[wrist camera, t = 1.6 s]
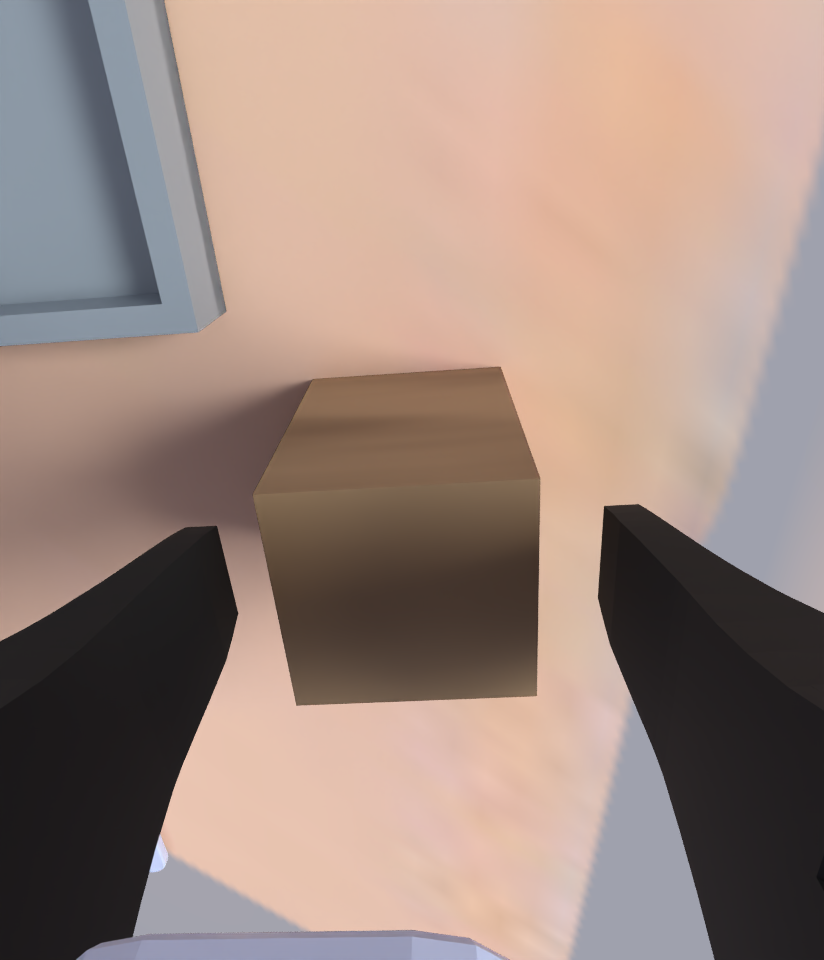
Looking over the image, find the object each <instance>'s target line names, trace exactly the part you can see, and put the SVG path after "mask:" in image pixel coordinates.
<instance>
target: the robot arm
mask: <svg viewBox="0 0 824 960" xmlns="http://www.w3.org/2000/svg"><path fill="white" fill-rule="evenodd" d="M598 600H599V604H600V608H601V612H602V616H603V620H604V624H605V628H606V631H607V635H608V638H609V642H610V645H611V648H612V650H613V653H614V655H615V658H616V660H617V663H618V665H619V668H620V670H621V672H622V675H623V677H624V680H625V682H626V685H627V687H628V689H629V692H630V694H631V696H632V699H633V701H634V704H635V706H636V708H637V711H638V713H639V716H640V718H641V720H642V723H643V725H644V727H645V730H646V732H647V734H648V737H649V739H650V742H651V744H652V746H653V749H654V752H655V754H656V757H657V759H658V762H659V765H660V768H661V771H662V773H663V776H664V780H665V783H666V786H667V790H668V793H669V796H670V800H671V803H672V806H673V809H674V813H675V816H676V819H677V823H678V826H679V829H680V833H681V836H682V840H683V844H684V847H685V851H686V854H687V858H688V861H689V865H690V868H691V872H692V876H693V879H694V883H695V887H696V890H697V894H698V898H699V901H700V905H701V909H702V913H703V917H704V920H705V924H706V928H707V932H708V936H709V940H710V944H711V947H712V951H713V955H714V959H715V960H824V613H823V612H821V611H818V610H816V609H814V608H812V607H810V606H808V605H806V604H804V603H802V602H799V601H797V600H795V599H793V598H791V597H789V596H787V595H785V594H783V593H781V592H779V591H777V590H775V589H774V588H771V587H770V586H768V585H766V584H764V583H763V582H761V581H759V580H757V579H756V578H754V577H752V576H750V575H749V574H747V573H745V572H743V571H742V570H740V569H738V568H736V567H735V566H733V565H731V564H730V563H728V562H727V561H725V560H723V559H722V558H720V557H718V556H717V555H715V554H714V553H712V552H711V551H709V550H707V549H706V548H704V547H703V546H701V545H700V544H698V543H697V542H695V541H694V540H692V539H691V538H689V537H688V536H686V535H685V534H683V533H682V532H680V531H679V530H677V529H676V528H674V527H673V526H671V525H670V524H668V523H667V522H666V521H664V520H663V519H661V518H660V517H658V516H657V515H655V514H654V513H652V512H650V511H649V510H647V509H646V508H644V507H642V506H640V505H639V504H635V505H616V506H604V516H603V530H602V545H601V560H600V575H599V590H598ZM237 616H238V611H237V607H236V602H235V598H234V594H233V590H232V586H231V582H230V578H229V574H228V570H227V566H226V562H225V557H224V553H223V549H222V545H221V541H220V537H219V533H218V529H217V526H206V527H187V528H184V529H182V530H180V531H178V532H176V533H174V534H173V535H171V536H170V537H168V538H166V539H165V540H163V541H162V542H160V543H159V544H157V545H156V546H154V547H153V548H151V549H150V550H148V551H147V552H145V553H144V554H142V555H141V556H139V557H138V558H136V559H135V560H133V561H132V562H131V563H129V564H128V565H126V566H125V567H123V568H122V569H120V570H119V571H117V572H116V573H114V574H113V575H111V576H110V577H108V578H107V579H105V580H104V581H102V582H101V583H99V584H98V585H96V586H95V587H93V588H91V589H90V590H88V591H87V592H85V593H83V594H82V595H80V596H79V597H77V598H75V599H74V600H72V601H71V602H69V603H67V604H66V605H64V606H63V607H61V608H59V609H58V610H56V611H55V612H53V613H51V614H50V615H48V616H46V617H44V618H43V619H41V620H39V621H38V622H36V623H34V624H32V625H30V626H29V627H27V628H25V629H23V630H21V631H19V632H17V633H16V634H14V635H12V636H10V637H8V638H6V639H4V640H2V641H0V960H509V959H507V958H506V957H504V956H502V955H500V954H498V953H496V952H494V951H493V950H491V949H489V948H487V947H485V946H483V945H481V944H480V943H478V942H476V941H474V940H472V939H470V938H465V937H458V936H451V935H444V934H437V933H429V932H422V931H415V930H396V931H324V932H257V933H256V932H254V933H190V934H189V933H185V934H184V933H183V934H147V935H141V936H136V937H133V933H134V929H135V925H136V920H137V916H138V912H139V908H140V904H141V900H142V897H143V893H144V889H145V886H146V882H147V878H148V875H149V872H157V871H160V870H162V869H163V868H164V867H165V865H166V862H167V860H168V853H167V851H166V848H165V845H164V843H163V840H162V837H161V835H160V832H161V829H162V826H163V822H164V819H165V816H166V812H167V809H168V806H169V802H170V799H171V796H172V792H173V789H174V786H175V784H176V781H177V778H178V776H179V773H180V770H181V767H182V765H183V762H184V760H185V758H186V755H187V753H188V750H189V748H190V746H191V743H192V741H193V739H194V736H195V734H196V731H197V729H198V727H199V724H200V722H201V720H202V717H203V715H204V713H205V710H206V708H207V705H208V703H209V701H210V698H211V696H212V694H213V691H214V689H215V686H216V684H217V681H218V679H219V677H220V674H221V672H222V669H223V667H224V664H225V662H226V659H227V655H228V652H229V648H230V644H231V641H232V637H233V633H234V628H235V624H236V620H237Z"/></svg>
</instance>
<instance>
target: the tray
mask: <svg viewBox="0 0 824 960" xmlns="http://www.w3.org/2000/svg"><path fill="white" fill-rule="evenodd" d="M225 312H226V307H225V302H224V297H223V292H222V287H221V282H220V277H219V272H218V267H217V262H216V257H215V252H214V247H213V242H212V237H211V232H210V227H209V222H208V217H207V212H206V207H205V203H204V198H203V193H202V188H201V183H200V178H199V173H198V168H197V163H196V158H195V153H194V148H193V143H192V138H191V133H190V128H189V123H188V118H187V113H186V108H185V103H184V98H183V93H182V88H181V83H180V78H179V73H178V68H177V63H176V58H175V53H174V48H173V43H172V38H171V33H170V28H169V23H168V18H167V13H166V8H165V3H164V0H0V346H10V345H24V344H38V343H52V342H66V341H81V340H95V339H109V338H123V337H138V336H152V335H166V334H180V333H195V332H199V331H201V330H202V329H203V328H205V327H206V326H207V325H209V324H210V323H211V322H213V321H214V320H215V319H217V318H218V317H219V316H221V315H222V314H223V313H225Z"/></svg>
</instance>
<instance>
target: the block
mask: <svg viewBox="0 0 824 960" xmlns="http://www.w3.org/2000/svg"><path fill="white" fill-rule="evenodd" d="M253 499H254V504H255V509H256V514H257V519H258V523H259V528H260V533H261V538H262V543H263V547H264V552H265V557H266V562H267V567H268V571H269V576H270V581H271V586H272V591H273V595H274V600H275V605H276V610H277V615H278V619H279V624H280V629H281V634H282V638H283V643H284V648H285V653H286V658H287V662H288V667H289V672H290V677H291V682H292V686H293V691H294V696H295V701H296V706H297V705H322V704H348V703H373V702H399V701H424V700H450V699H476V698H501V697H527V696H537V648H538V586H539V525H540V476H539V474H538V471H537V468H536V465H535V462H534V460H533V457H532V454H531V451H530V448H529V445H528V443H527V440H526V437H525V434H524V431H523V429H522V426H521V423H520V420H519V417H518V415H517V412H516V409H515V406H514V403H513V400H512V398H511V395H510V392H509V389H508V386H507V384H506V381H505V378H504V375H503V372H502V369H501V367H491V368H476V369H461V370H445V371H430V372H415V373H400V374H384V375H369V376H354V377H338V378H323V379H313V380H312V382H311V384H310V386H309V388H308V390H307V392H306V393H305V395H304V397H303V399H302V401H301V403H300V405H299V407H298V409H297V411H296V413H295V414H294V416H293V418H292V420H291V422H290V424H289V426H288V428H287V430H286V432H285V434H284V436H283V437H282V439H281V441H280V443H279V445H278V447H277V449H276V451H275V453H274V455H273V457H272V459H271V460H270V462H269V464H268V466H267V468H266V470H265V472H264V474H263V476H262V478H261V480H260V482H259V483H258V485H257V487H256V489H255V491H254V493H253Z"/></svg>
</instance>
